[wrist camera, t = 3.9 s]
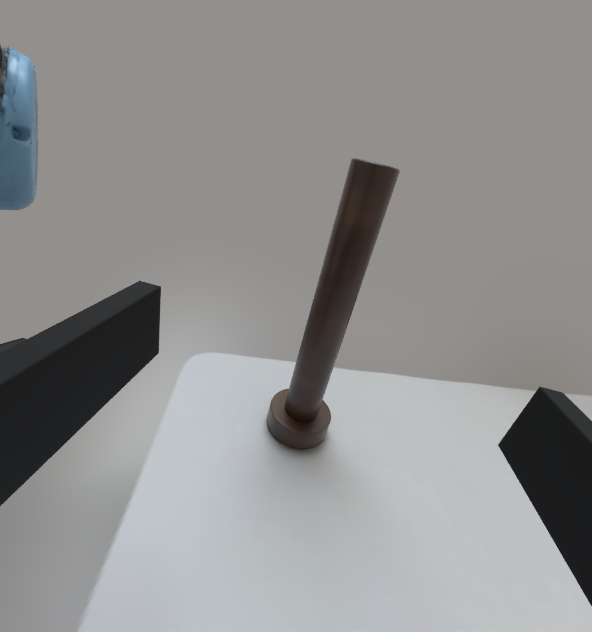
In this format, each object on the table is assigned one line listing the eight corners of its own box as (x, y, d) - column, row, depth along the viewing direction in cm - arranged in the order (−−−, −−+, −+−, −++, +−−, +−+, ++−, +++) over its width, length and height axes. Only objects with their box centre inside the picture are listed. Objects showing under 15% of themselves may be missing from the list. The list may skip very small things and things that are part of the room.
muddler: (260, 439, 21) (330, 150, 13) (273, 396, 25) (333, 155, 17) (324, 456, 21) (431, 175, 13) (326, 411, 25) (410, 175, 17)
